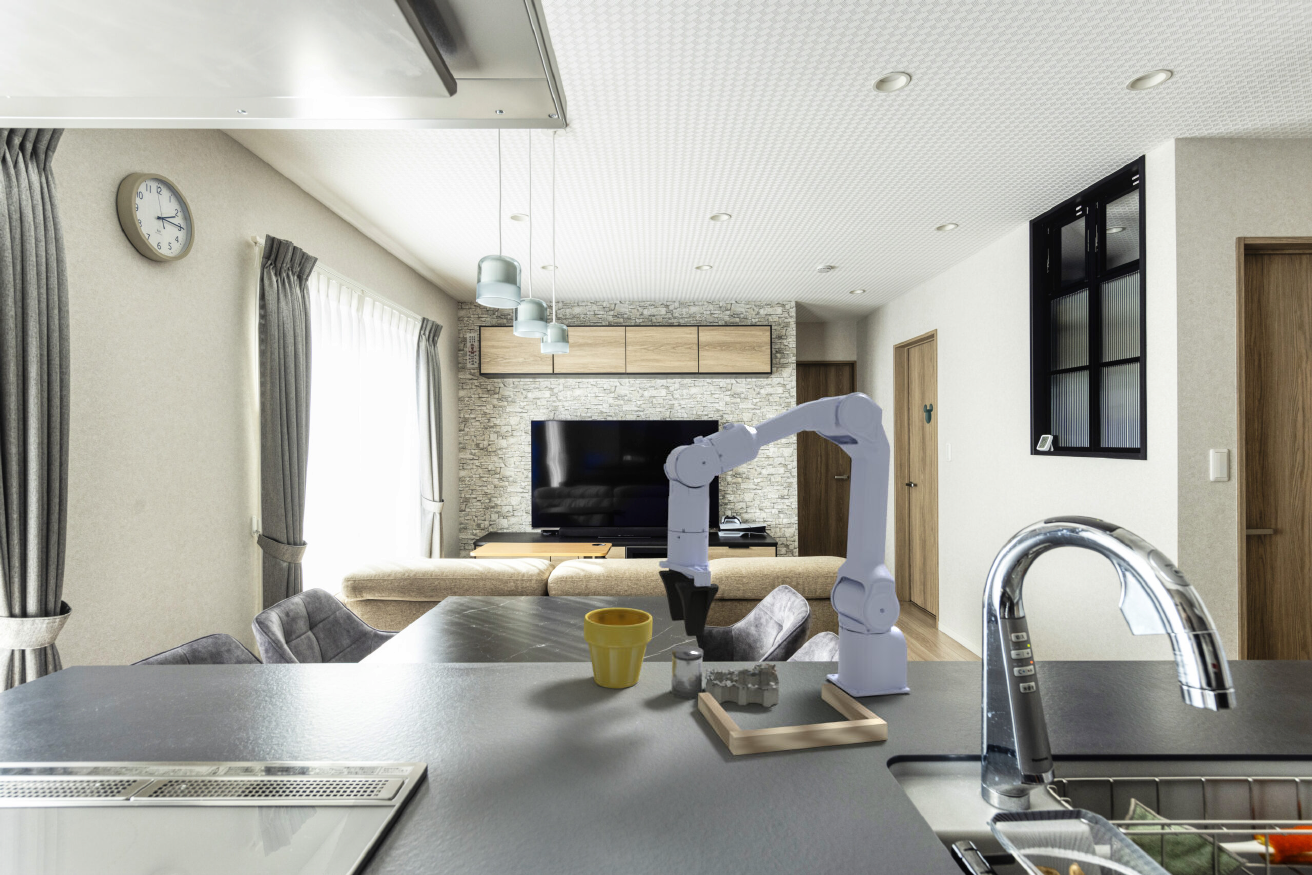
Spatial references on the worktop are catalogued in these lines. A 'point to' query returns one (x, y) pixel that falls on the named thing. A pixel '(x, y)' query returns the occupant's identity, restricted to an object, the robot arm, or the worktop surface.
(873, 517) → the robot arm
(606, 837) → the worktop surface
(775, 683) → the egg carton
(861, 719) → the beech bay
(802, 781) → the worktop surface
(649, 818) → the worktop surface
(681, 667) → the jar with metallic lid
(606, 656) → the plant pot
